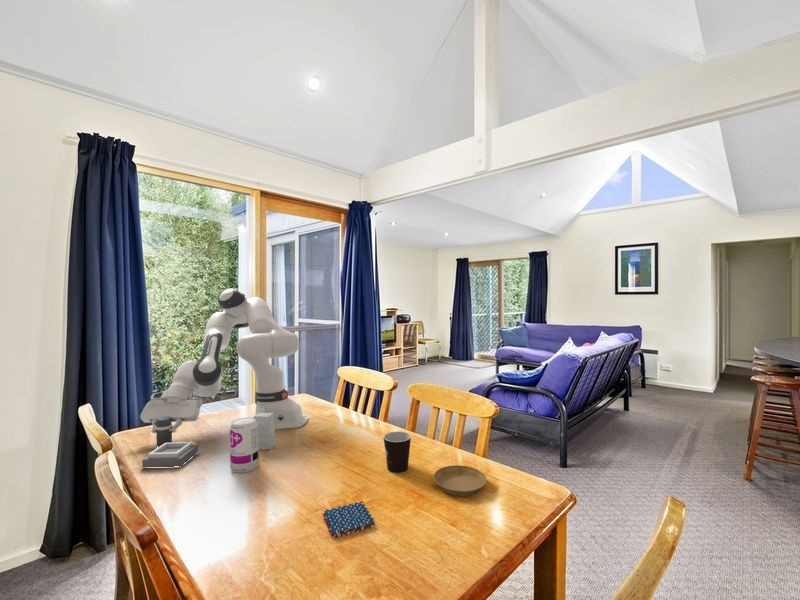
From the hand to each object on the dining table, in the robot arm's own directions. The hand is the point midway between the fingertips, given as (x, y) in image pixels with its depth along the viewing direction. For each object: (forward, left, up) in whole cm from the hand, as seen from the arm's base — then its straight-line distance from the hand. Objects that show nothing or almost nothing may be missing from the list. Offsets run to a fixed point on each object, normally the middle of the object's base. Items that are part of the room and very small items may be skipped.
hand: (163, 432), depth 137 cm
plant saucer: (-103, +34, -6) cm, 109 cm away
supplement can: (-37, +19, -6) cm, 42 cm away
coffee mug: (-86, +21, -6) cm, 89 cm away
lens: (0, -1, -5) cm, 5 cm away
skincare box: (-38, +3, -6) cm, 39 cm away
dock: (-10, +12, -5) cm, 17 cm away
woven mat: (-73, +49, -6) cm, 88 cm away
